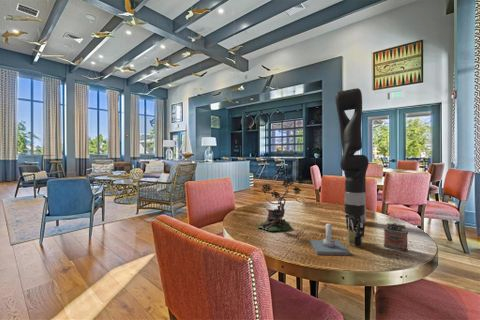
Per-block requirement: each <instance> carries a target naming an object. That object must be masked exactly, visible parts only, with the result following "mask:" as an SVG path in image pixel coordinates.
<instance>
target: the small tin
mask: <svg viewBox="0 0 480 320" xmlns="http://www.w3.org/2000/svg"><path fill="white" fill-rule="evenodd" d="M408 232H409V231H407V230H406V225H404V224H398V223H396V222H394V223H390V222H387V223H386V227H383V233H384V235H383V237H384V240H383V241H384V242H383V247H384V248H386V249H390V250H391V251H393V250H394V251H397V252H403V253H408V252H409V249H408V234H409V233H408Z"/></svg>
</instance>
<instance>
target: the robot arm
mask: <svg viewBox="0 0 480 320" xmlns="http://www.w3.org/2000/svg"><path fill="white" fill-rule="evenodd" d="M334 98H335V106H336V112H337V117H338V123H339V133H340V144H341V149H342V155H341V158H340V164H339V166H340V169H341V170H342V171H343V172H344V173H343V174H344V177H345V181H344V214H345V222H346V230H347V229H349V228H352V230H353V231H354V235H355V245H356V246H361V237H362V238H363V237H364V236H365V228H366V227H365V226H366V224H367V210H366V209H367V206H366V204H367V203H366V202H367V198H366V197H367V195H366V194H367V193H366V192H367V190H366V179H367V170H368V167H369V164H370V162H369V158H368V157H367V156H366V155H365V154H356V153H357V152H359V151H361V150H362V147H363V139H362V137H363V136H362V119H363V94H362V91H361V89H360V88H358V87H357V88H351V89H345V90H340V91H337V92H336V93H335V97H334ZM351 110H354V111H353V115H352V117H351V118H349V117H348V115H347V113H346V111H351ZM355 228H356V229H355ZM356 231H357V232H356ZM361 232H362V233H361ZM361 247H362V246H361Z"/></svg>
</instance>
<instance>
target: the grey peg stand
mask: <svg viewBox="0 0 480 320" xmlns="http://www.w3.org/2000/svg"><path fill="white" fill-rule="evenodd" d="M332 228H333V226H332V224H331V223H325V238H323V239H321V240H319V239H310V241H309V242H310V244H311V246H312V248H313V250H314V251H315V253H316V255H320V256H321V255H322V256H323V255H324V256H325V255H326V256H328V255H329V256H331V255H332V256H351V251H350V250H349V249H348V248H347V247H346V246H345V245H344V244H343V243H342V242H341V241H340V239H339V240H334V239H333V236H332V235H333V231H332V230H333V229H332Z"/></svg>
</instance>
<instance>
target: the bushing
mask: <svg viewBox="0 0 480 320" xmlns="http://www.w3.org/2000/svg"><path fill="white" fill-rule="evenodd" d="M355 229H357V228H355ZM346 230H347V233H346V234H347V237H346V238H347V239H346V241H347V242H346V243H347V245H349V246H351V247H354V248H357V247H358V248H361V247H362V246H363V237H361V246H356V245H355V235H354V231H353V230H352V228H349V229H347V228H346ZM356 232H357V231H356ZM361 233H362V232H361Z"/></svg>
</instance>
